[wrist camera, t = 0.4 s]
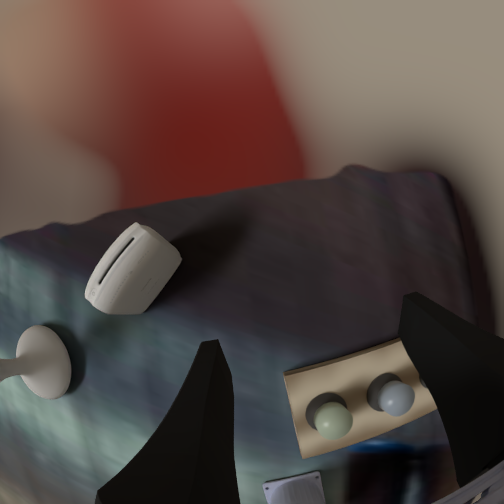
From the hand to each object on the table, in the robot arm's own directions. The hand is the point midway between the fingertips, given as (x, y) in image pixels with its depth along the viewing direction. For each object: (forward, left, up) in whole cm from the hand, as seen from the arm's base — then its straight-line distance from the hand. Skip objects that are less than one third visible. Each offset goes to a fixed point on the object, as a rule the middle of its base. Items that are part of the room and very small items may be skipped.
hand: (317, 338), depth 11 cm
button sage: (-13, -4, -22) cm, 26 cm away
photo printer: (+8, +14, -27) cm, 31 cm away
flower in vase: (-1, +35, -27) cm, 44 cm away
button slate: (-13, -12, -22) cm, 28 cm away
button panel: (-13, -12, -27) cm, 32 cm away
